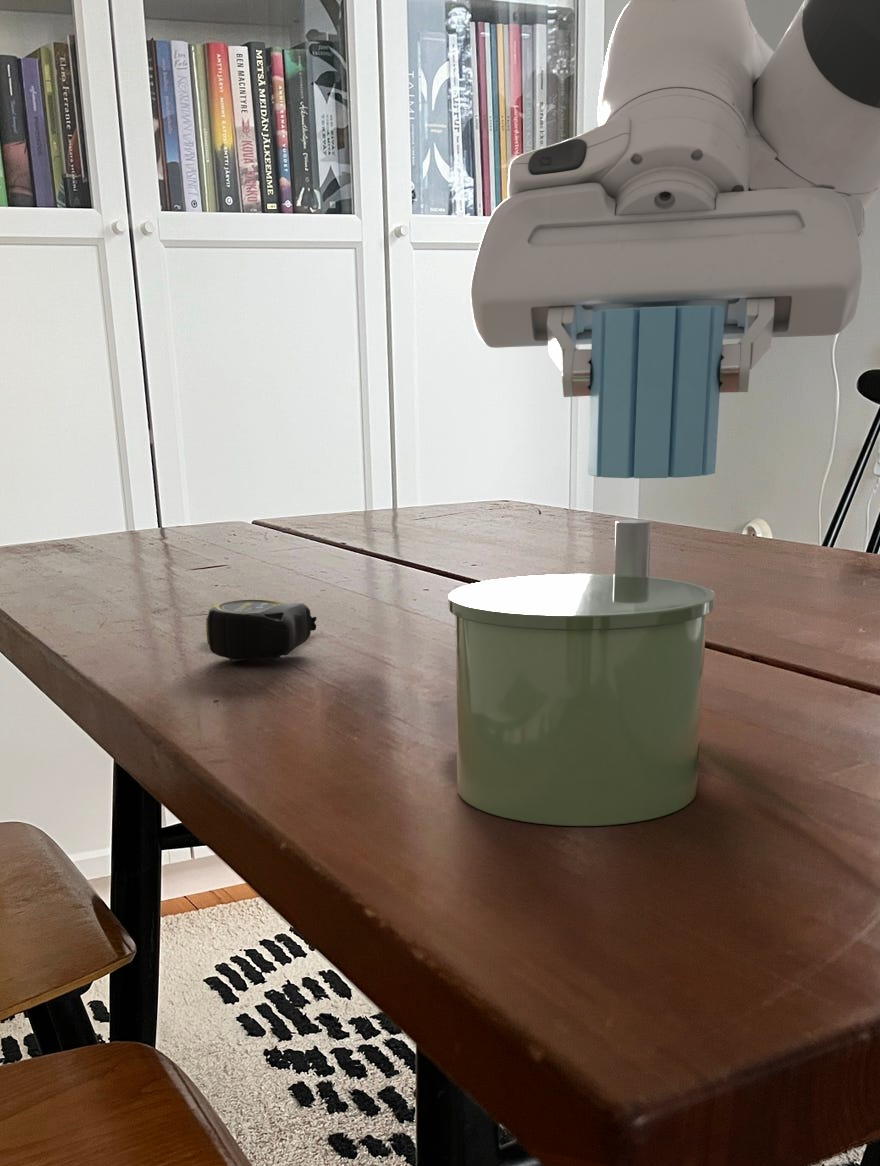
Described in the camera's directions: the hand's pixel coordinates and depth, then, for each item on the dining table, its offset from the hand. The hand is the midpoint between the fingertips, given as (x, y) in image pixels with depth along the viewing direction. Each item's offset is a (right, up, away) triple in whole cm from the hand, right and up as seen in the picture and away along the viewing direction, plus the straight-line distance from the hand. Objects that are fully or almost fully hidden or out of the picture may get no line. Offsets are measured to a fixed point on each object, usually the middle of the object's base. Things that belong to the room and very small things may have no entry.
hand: (653, 385), depth 65 cm
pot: (-3, -20, -3) cm, 20 cm away
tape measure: (-22, -10, +24) cm, 34 cm away
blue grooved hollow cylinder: (0, -4, +2) cm, 4 cm away
